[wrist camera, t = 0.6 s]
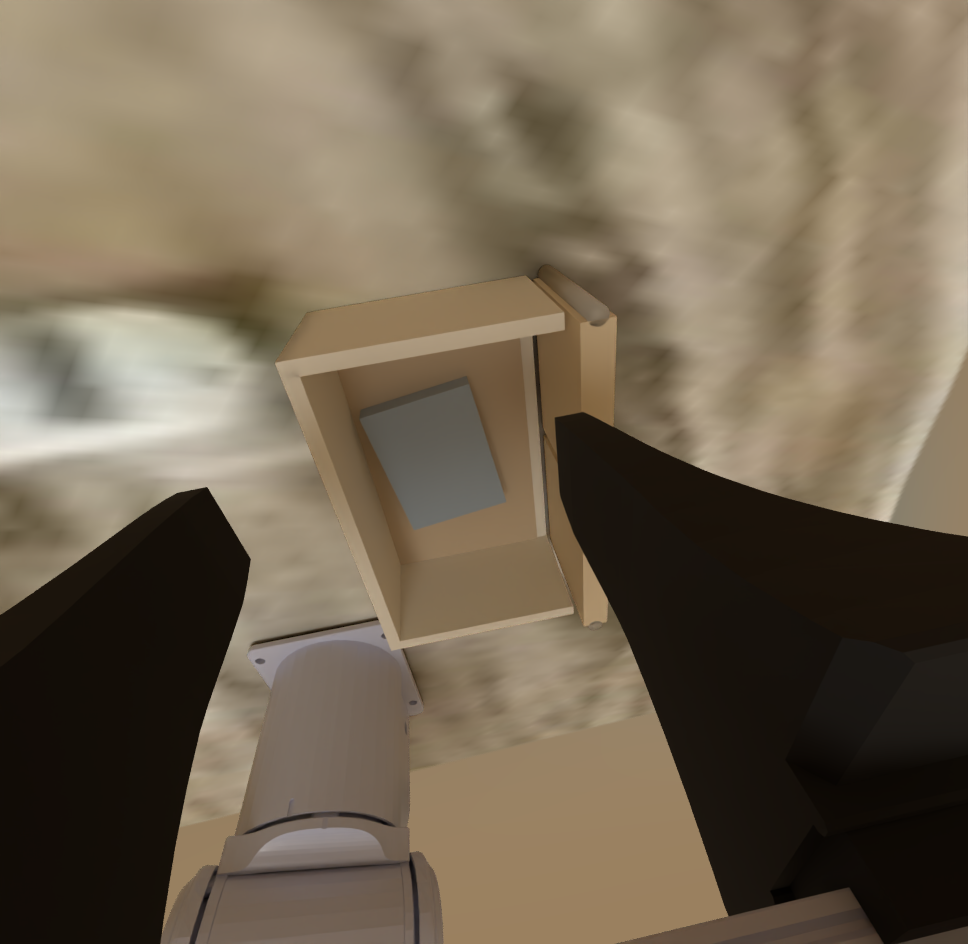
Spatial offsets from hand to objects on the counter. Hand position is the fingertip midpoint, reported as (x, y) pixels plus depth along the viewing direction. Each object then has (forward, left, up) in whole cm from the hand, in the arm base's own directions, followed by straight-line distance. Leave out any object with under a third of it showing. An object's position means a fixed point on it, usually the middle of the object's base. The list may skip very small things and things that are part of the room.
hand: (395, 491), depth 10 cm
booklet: (-5, -1, -9) cm, 10 cm away
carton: (-5, -1, -10) cm, 11 cm away
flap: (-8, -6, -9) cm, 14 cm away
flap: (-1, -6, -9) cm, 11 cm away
